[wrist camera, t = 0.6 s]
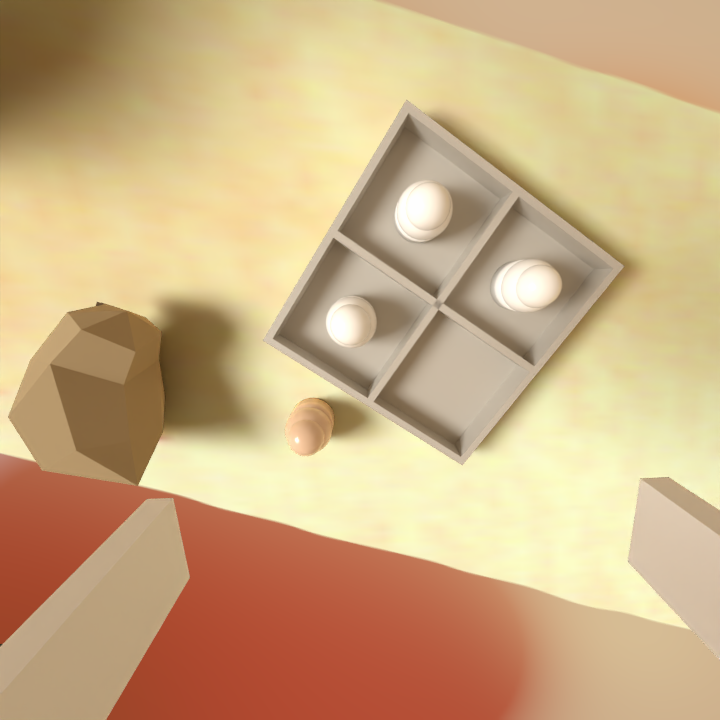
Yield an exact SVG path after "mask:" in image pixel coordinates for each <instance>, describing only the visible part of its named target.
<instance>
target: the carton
mask: <svg viewBox="0 0 720 720" xmlns="http://www.w3.org/2000/svg"><path fill="white" fill-rule="evenodd" d="M420 180H434V181H437V182H439V183H440V184H442V185H443V186H444V187H445V188H446V189H447V190H448V192H449V193H450V195H451V198H452V202H453V213H452V217H451V220H450V222H449V224H448V226H447V227H446V229H445V230H444V231H443V232H442V233H441V234H439V235H438V236H436V237H435V238H433V239H431V240H429V241H427V242H425V243H411V242H408V241H406V240H405V239H403V238H402V237H401V236H400V235H399V233H398V232H397V230H396V228H395V224H394V211H395V208H396V205H397V203H398V201H399V199H400V197H401V195H402V193H403V192H404V191H405V189H406V188H407V187H409V186H410V185H411V184H413V183H415V182H417V181H420ZM524 259H540V260H543V261H545V262H547V263H549V264H550V265H551V266H553V268H554V269H555V270H556V271H557V272H558V273H559V275H560V277H561V279H562V289H561V292H560V294H559V296H558V297H557V299H556V300H555V301H554V302H552V303H551V304H549V305H548V306H547V307H545V308H543V309H541V310H539V311H536V312H532V313H522V312H517V311H512V310H508V309H504V308H502V307H500V306H498V305H497V304H496V303H495V302H494V300H493V298H492V296H491V293H490V283H491V279H492V277H493V275H494V273H495V272H496V270H497V269H498V268H499V267H500V266H502V265H503V264H505V263H507V262H510V261H516V260H524ZM623 267H624V265H622V264H621V263H620V262H619V261H617V260H616V259H615V258H613V257H612V256H611V255H609V254H608V253H607V252H605V251H604V250H603V249H601V248H600V247H599V246H598V245H596V244H595V243H594V242H592V241H591V240H590V239H588V238H587V237H586V236H584V235H583V234H582V233H581V232H579V231H578V230H577V229H575V228H574V227H573V226H571V225H570V224H569V223H567V222H566V221H565V220H564V219H562V218H561V217H560V216H558V215H557V214H556V213H554V212H553V211H552V210H550V209H549V208H548V207H547V206H545V205H544V204H543V203H541V202H540V201H539V200H537V199H536V198H535V197H533V196H532V195H531V194H529V193H528V192H527V191H526V190H524V189H523V188H522V187H520V186H519V185H518V184H516V183H515V182H514V181H512V180H511V179H510V178H509V177H507V176H506V175H505V174H503V173H502V172H501V171H499V170H498V169H497V168H495V167H494V166H493V165H492V164H490V163H489V162H488V161H486V160H485V159H484V158H482V157H481V156H480V155H478V154H477V153H476V152H475V151H473V150H472V149H471V148H469V147H468V146H467V145H465V144H464V143H463V142H461V141H460V140H459V139H457V138H456V137H455V136H454V135H452V134H451V133H450V132H448V131H447V130H446V129H444V128H443V127H442V126H440V125H439V124H438V123H437V122H435V121H434V120H433V119H431V118H430V117H429V116H427V115H426V114H425V113H423V112H422V111H421V110H420V109H418V108H417V107H416V106H414V105H413V104H412V103H410V102H409V101H408V100H406V101H405V103H404V105H403V106H402V108H401V110H400V111H399V113H398V115H397V117H396V118H395V120H394V122H393V123H392V125H391V127H390V128H389V130H388V132H387V133H386V135H385V137H384V138H383V140H382V142H381V143H380V145H379V147H378V148H377V150H376V152H375V153H374V155H373V157H372V158H371V160H370V162H369V163H368V165H367V167H366V168H365V170H364V172H363V173H362V175H361V177H360V179H359V180H358V182H357V184H356V185H355V187H354V189H353V190H352V192H351V194H350V195H349V197H348V199H347V200H346V202H345V204H344V205H343V207H342V209H341V210H340V212H339V214H338V215H337V217H336V219H335V220H334V222H333V224H332V225H331V227H330V229H329V230H328V232H327V234H326V235H325V237H324V239H323V241H322V242H321V244H320V246H319V247H318V249H317V251H316V252H315V254H314V256H313V257H312V259H311V261H310V262H309V264H308V266H307V267H306V269H305V271H304V272H303V274H302V276H301V277H300V279H299V281H298V282H297V284H296V286H295V287H294V289H293V291H292V292H291V294H290V296H289V297H288V299H287V301H286V303H285V304H284V306H283V308H282V309H281V311H280V313H279V314H278V316H277V318H276V319H275V321H274V323H273V324H272V326H271V328H270V329H269V331H268V333H267V334H266V336H265V338H264V339H263V341H264V342H266V343H268V344H269V345H271V346H272V347H274V348H276V349H277V350H279V351H280V352H282V353H284V354H285V355H287V356H288V357H290V358H292V359H293V360H295V361H296V362H298V363H300V364H301V365H303V366H304V367H306V368H308V369H309V370H311V371H312V372H314V373H316V374H317V375H319V376H320V377H322V378H324V379H325V380H327V381H328V382H330V383H332V384H333V385H335V386H336V387H338V388H340V389H341V390H343V391H344V392H346V393H348V394H349V395H351V396H352V397H354V398H356V399H357V400H359V401H360V402H362V403H364V404H365V405H367V406H368V407H370V408H372V409H373V410H375V411H376V412H378V413H380V414H381V415H383V416H384V417H386V418H388V419H389V420H391V421H392V422H394V423H396V424H397V425H399V426H400V427H402V428H404V429H405V430H407V431H408V432H410V433H412V434H413V435H415V436H416V437H418V438H420V439H421V440H423V441H424V442H426V443H428V444H429V445H431V446H432V447H434V448H436V449H437V450H439V451H440V452H442V453H444V454H445V455H447V456H448V457H450V458H452V459H453V460H455V461H456V462H458V463H460V464H461V465H463V464H464V463H465V462H466V460H467V459H468V458H469V457H470V455H471V454H472V453H473V452H474V450H475V449H476V448H477V447H478V446H479V444H480V443H481V442H482V441H483V439H484V438H485V437H486V436H487V434H488V433H489V432H490V431H491V430H492V428H493V427H494V426H495V425H496V423H497V422H498V421H499V420H500V418H501V417H502V416H503V415H504V414H505V412H506V411H507V410H508V409H509V407H510V406H511V405H512V404H513V403H514V401H515V400H516V399H517V398H518V396H519V395H520V394H521V393H522V391H523V390H524V389H525V388H526V387H527V385H528V384H529V383H530V382H531V380H532V379H533V378H534V377H535V375H536V374H537V373H538V372H539V371H540V369H541V368H542V367H543V366H544V364H545V363H546V362H547V361H548V360H549V358H550V357H551V356H552V355H553V353H554V352H555V351H556V350H557V348H558V347H559V346H560V345H561V344H562V342H563V341H564V340H565V339H566V337H567V336H568V335H569V334H570V332H571V331H572V330H573V329H574V328H575V326H576V325H577V324H578V323H579V321H580V320H581V319H582V318H583V317H584V315H585V314H586V313H587V312H588V310H589V309H590V308H591V307H592V305H593V304H594V303H595V302H596V301H597V299H598V298H599V297H600V296H601V294H602V293H603V292H604V291H605V289H606V288H607V287H608V286H609V285H610V283H611V282H612V281H613V280H614V278H615V277H616V276H617V275H618V274H619V272H620V271H621V270H622V269H623ZM349 295H356V296H360V297H362V298H364V299H366V300H367V301H368V302H369V303H370V304H371V305H372V307H373V308H374V311H375V314H376V318H377V327H376V331H375V334H374V335H373V337H372V338H371V340H370V341H369V342H368V343H366V344H365V345H363V346H361V347H358V348H345V347H342V346H340V345H338V344H337V343H335V342H334V341H333V340H332V339H331V338H330V336H329V334H328V332H327V329H326V316H327V313H328V311H329V309H330V307H331V306H332V305H333V304H334V303H335V302H336V301H338V300H339V299H340V298H342V297H345V296H349Z"/></svg>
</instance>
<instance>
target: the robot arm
mask: <svg viewBox="0 0 720 720" xmlns="http://www.w3.org/2000/svg"><path fill="white" fill-rule="evenodd" d="M628 562H629V564H630V565H631V566H632V567H633V568H634V569H635V570H636V571H637V572H638V573H639V574H640V575H641V576H642V577H643V579H644V580H645V581H646V582H647V583H648V584H649V585H650V586H651V587H652V588H653V589H654V590H655V591H656V593H657V594H658V595H659V596H660V597H661V598H662V599H663V600H664V601H665V602H666V603H667V604H668V605H669V606H670V608H671V609H672V610H673V611H674V612H675V613H676V614H677V615H678V616H679V617H680V618H681V619H682V620H683V621H684V623H685V624H686V625H687V626H688V627H689V628H690V629H691V630H692V631H693V632H694V633H695V634H696V635H697V637H698V638H699V639H700V640H701V641H702V642H703V643H704V644H705V645H706V646H707V647H708V648H709V649H710V650H711V651H712V653H713V654H715V656H716V657H717V658H718V659H719V660H720V510H718V509H717V508H715V507H714V506H712V505H710V504H709V503H707V502H706V501H704V500H703V499H701V498H700V497H698V496H697V495H695V494H694V493H692V492H690V491H689V490H687V489H686V488H684V487H683V486H681V485H680V484H678V483H677V482H675V481H674V480H672V479H671V478H669V477H662V478H640V483H639V490H638V497H637V503H636V510H635V517H634V524H633V530H632V537H631V544H630V551H629V557H628ZM189 578H190V576H189V571H188V567H187V562H186V557H185V552H184V547H183V543H182V538H181V533H180V529H179V524H178V519H177V514H176V510H175V505H174V500H173V498H164V499H147V500H146V501H145V502H144V503H143V504H142V505H141V506H140V507H139V508H138V509H137V510H136V511H135V512H134V513H133V514H132V515H131V516H130V517H129V518H128V519H127V520H126V521H125V522H124V523H123V524H122V525H121V526H120V527H119V528H118V529H117V530H116V531H115V532H114V533H113V534H112V535H111V536H110V537H109V538H108V539H107V540H106V541H105V542H104V543H103V544H102V545H101V546H100V547H99V548H98V549H97V550H96V551H95V552H94V553H93V554H92V555H91V556H90V557H89V558H88V559H87V560H86V561H85V562H84V563H83V564H82V565H81V566H80V567H79V568H78V569H77V570H76V571H75V572H74V573H73V574H72V575H71V576H70V577H69V578H68V579H67V580H66V581H65V582H64V583H63V584H62V585H61V586H60V587H59V588H58V589H57V590H56V591H55V592H54V593H53V594H52V596H50V597H49V598H48V599H47V600H46V601H45V602H44V603H43V604H42V605H41V606H40V607H39V608H38V609H37V610H36V611H35V612H34V613H33V614H32V615H31V617H29V619H27V620H26V621H25V622H24V623H23V625H21V627H20V628H18V629H17V630H16V632H15V633H13V635H11V637H10V638H9V639H8V640H7V641H6V642H5V643H4V644H0V720H106V719H107V717H108V715H109V714H110V712H111V710H112V708H113V707H114V705H115V703H116V702H117V700H118V698H119V696H120V695H121V693H122V691H123V690H124V688H125V686H126V685H127V683H128V681H129V680H130V678H131V676H132V674H133V673H134V671H135V669H136V668H137V666H138V664H139V663H140V661H141V659H142V658H143V656H144V654H145V652H146V651H147V649H148V647H149V646H150V644H151V642H152V640H153V639H154V637H155V635H156V634H157V632H158V630H159V629H160V627H161V625H162V623H163V622H164V620H165V618H166V617H167V615H168V613H169V612H170V610H171V608H172V606H173V605H174V603H175V602H176V600H177V598H178V596H179V595H180V593H181V591H182V590H183V588H184V586H185V585H186V583H187V581H188V579H189Z"/></svg>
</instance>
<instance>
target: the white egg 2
mask: <svg viewBox="0 0 720 720" xmlns="http://www.w3.org/2000/svg"><path fill="white" fill-rule="evenodd" d="M452 213H453V202H452V198H451V195H450V193H449V192H448V190H447V189H446V188H445V187H444V186H443V185H442V184H440V183H439V182H437V181H434V180H420V181H417V182H415V183H413V184H411V185H410V186H409V187H407V188H406V189H405V191H404V192H403V193H402V195H401V197H400V199H399V201H398V203H397V205H396V208H395V211H394V224H395V228H396V230H397V232H398V233H399V235H400V236H401V237H402V238H403V239H405V240H406V241H408V242H411V243H425V242H427V241H429V240H431V239H433V238H435V237H436V236H438V235H439V234H441V233H442V232H443V231H444V230H445V229H446V227H447V226H448V224H449V222H450V220H451V217H452Z"/></svg>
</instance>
